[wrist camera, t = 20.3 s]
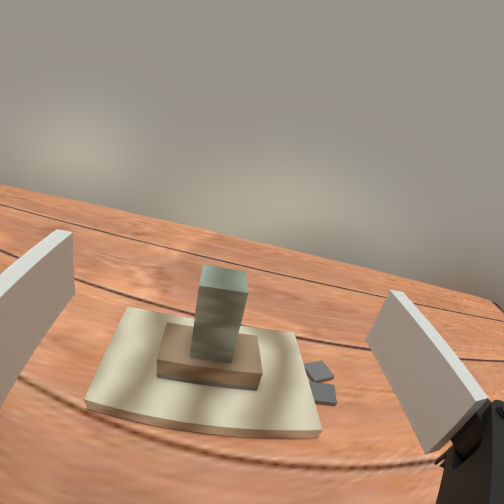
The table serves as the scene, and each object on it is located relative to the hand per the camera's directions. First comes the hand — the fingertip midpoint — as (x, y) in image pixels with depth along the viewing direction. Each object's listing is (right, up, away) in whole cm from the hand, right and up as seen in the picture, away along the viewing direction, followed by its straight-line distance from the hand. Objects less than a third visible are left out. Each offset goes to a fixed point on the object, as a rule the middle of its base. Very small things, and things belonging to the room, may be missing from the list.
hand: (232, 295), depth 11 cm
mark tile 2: (+9, -14, +23) cm, 28 cm away
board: (-4, -12, +19) cm, 23 cm away
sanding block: (-4, -10, +18) cm, 21 cm away
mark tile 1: (+9, -15, +19) cm, 26 cm away
